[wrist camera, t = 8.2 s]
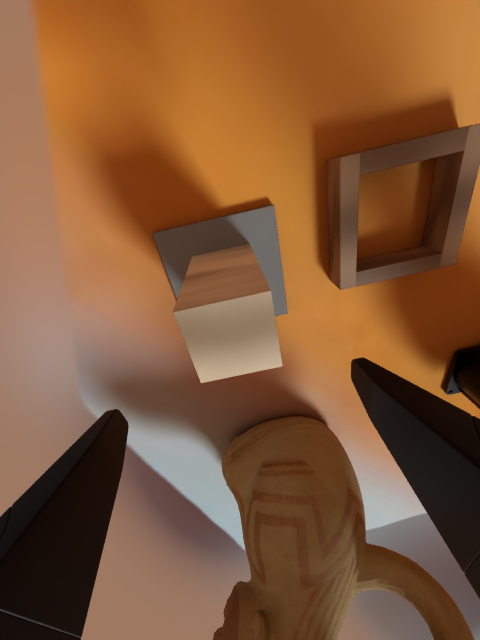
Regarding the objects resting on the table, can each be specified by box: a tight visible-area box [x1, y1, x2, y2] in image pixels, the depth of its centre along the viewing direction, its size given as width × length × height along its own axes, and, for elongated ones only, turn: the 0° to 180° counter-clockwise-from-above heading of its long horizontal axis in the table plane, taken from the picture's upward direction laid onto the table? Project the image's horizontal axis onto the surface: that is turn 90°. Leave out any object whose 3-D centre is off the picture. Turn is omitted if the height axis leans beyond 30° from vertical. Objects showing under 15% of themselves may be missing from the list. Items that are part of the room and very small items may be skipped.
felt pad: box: [152, 205, 288, 316], centre depth 20 cm, size 9×9×1 cm
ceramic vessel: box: [213, 416, 475, 640], centre depth 22 cm, size 17×20×25 cm
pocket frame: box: [327, 124, 480, 290], centre depth 18 cm, size 9×9×2 cm
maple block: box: [173, 243, 282, 383], centre depth 16 cm, size 4×4×9 cm
